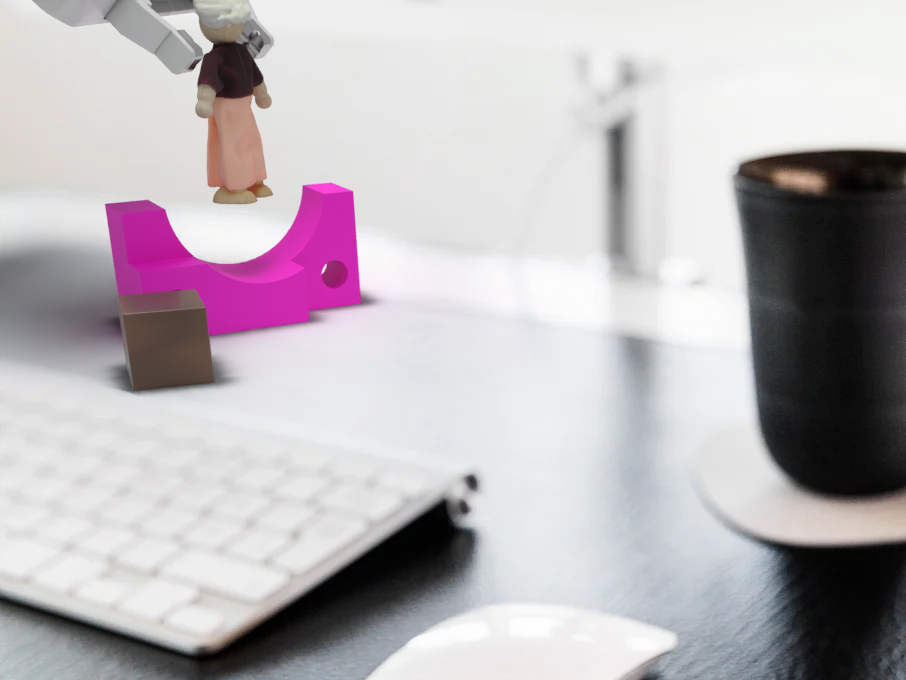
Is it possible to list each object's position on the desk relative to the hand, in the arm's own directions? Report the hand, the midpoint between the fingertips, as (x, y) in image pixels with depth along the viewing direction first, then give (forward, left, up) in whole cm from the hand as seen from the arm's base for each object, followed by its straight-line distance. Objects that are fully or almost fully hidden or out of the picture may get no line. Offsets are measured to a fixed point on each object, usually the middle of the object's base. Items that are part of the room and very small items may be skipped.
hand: (229, 58), depth 85 cm
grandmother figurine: (0, 0, -9) cm, 9 cm away
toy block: (0, 0, -16) cm, 16 cm away
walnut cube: (-2, -13, -16) cm, 21 cm away
